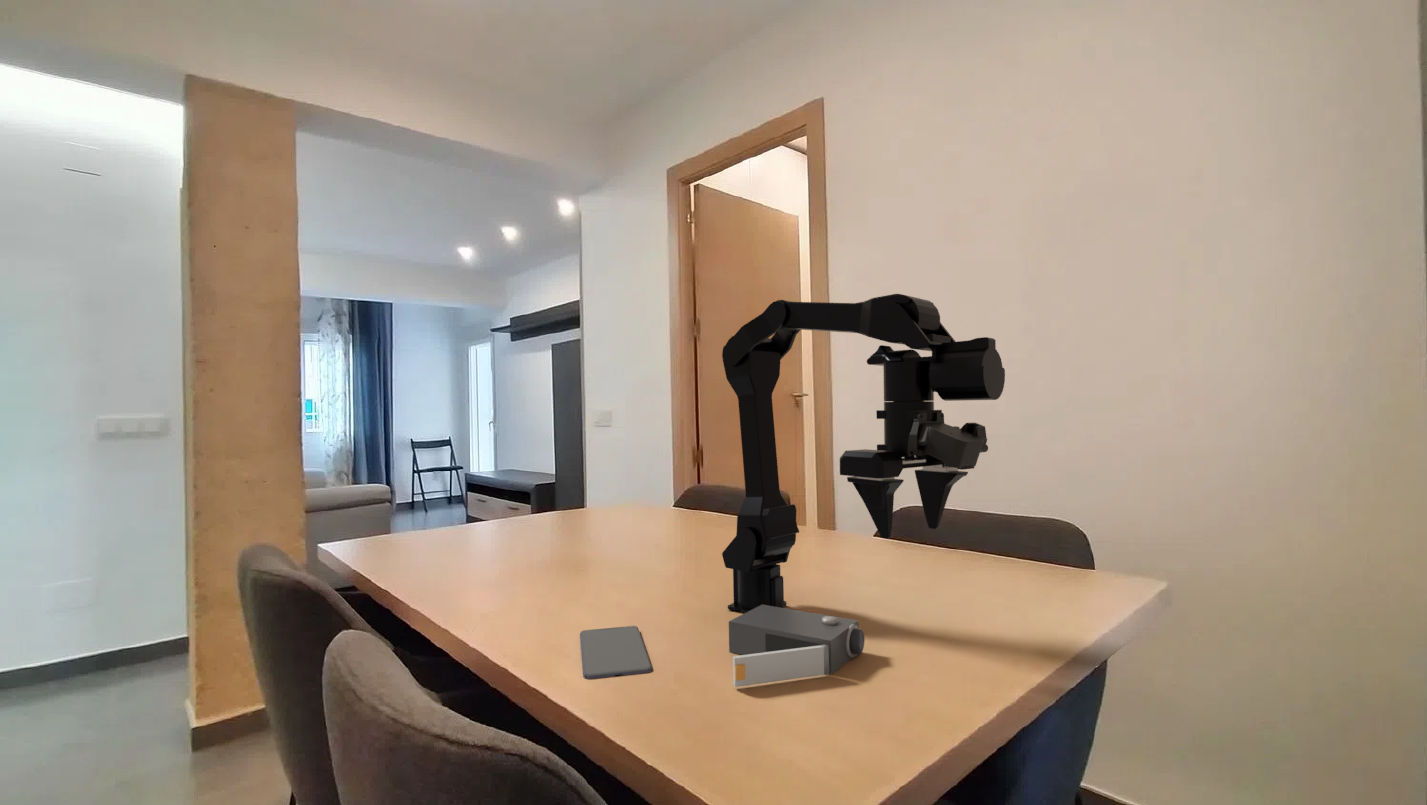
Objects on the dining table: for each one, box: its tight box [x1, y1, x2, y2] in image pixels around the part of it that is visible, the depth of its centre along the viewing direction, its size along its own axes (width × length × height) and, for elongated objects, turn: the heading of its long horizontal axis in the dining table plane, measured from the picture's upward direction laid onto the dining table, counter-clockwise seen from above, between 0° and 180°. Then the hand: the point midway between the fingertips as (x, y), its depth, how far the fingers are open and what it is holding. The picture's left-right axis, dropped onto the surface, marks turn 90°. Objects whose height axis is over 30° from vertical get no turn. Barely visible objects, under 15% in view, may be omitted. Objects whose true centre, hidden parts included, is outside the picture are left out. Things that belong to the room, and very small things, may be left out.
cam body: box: [728, 605, 865, 676], centre depth 76 cm, size 14×8×4 cm, turn 56°
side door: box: [732, 644, 830, 688], centre depth 67 cm, size 11×1×3 cm, turn 106°
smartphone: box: [579, 625, 653, 680], centre depth 77 cm, size 8×1×15 cm
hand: (910, 533), depth 77 cm, fingers open, 9 cm apart
